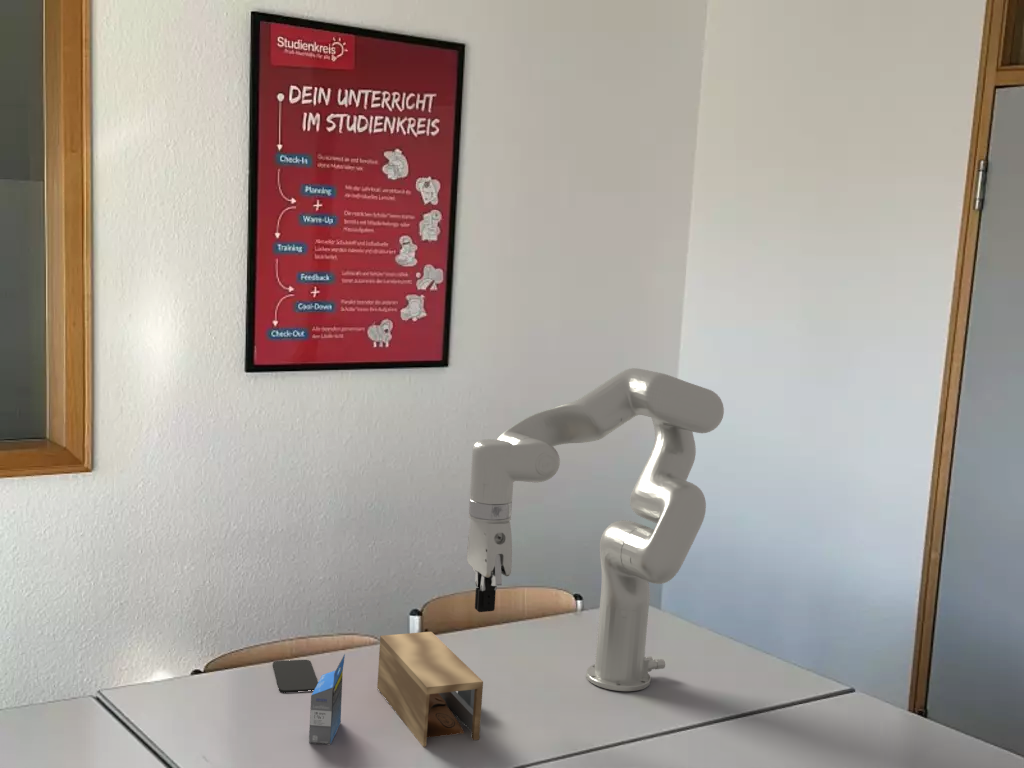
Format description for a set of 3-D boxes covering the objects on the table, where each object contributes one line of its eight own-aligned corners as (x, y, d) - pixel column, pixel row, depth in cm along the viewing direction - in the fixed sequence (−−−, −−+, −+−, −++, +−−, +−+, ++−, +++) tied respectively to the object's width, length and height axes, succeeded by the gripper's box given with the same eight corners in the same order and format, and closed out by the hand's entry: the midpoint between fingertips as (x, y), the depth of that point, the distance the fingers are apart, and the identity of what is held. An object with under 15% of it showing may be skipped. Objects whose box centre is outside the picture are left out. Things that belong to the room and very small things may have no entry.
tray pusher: (453, 685, 210) (455, 660, 209) (495, 729, 192) (497, 701, 191) (431, 687, 208) (432, 662, 207) (471, 732, 190) (473, 704, 189)
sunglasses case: (468, 733, 190) (451, 702, 188) (433, 757, 188) (416, 726, 186) (437, 692, 206) (422, 663, 204) (405, 713, 204) (388, 685, 203)
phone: (310, 659, 217) (320, 688, 203) (310, 663, 217) (320, 693, 203) (271, 660, 215) (279, 690, 201) (271, 665, 215) (279, 695, 201)
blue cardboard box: (318, 720, 191) (322, 651, 189) (341, 722, 191) (345, 653, 189) (307, 743, 182) (311, 670, 180) (331, 745, 182) (335, 672, 180)
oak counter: (427, 683, 210) (431, 631, 209) (479, 739, 188) (483, 681, 186) (377, 688, 206) (380, 635, 205) (423, 746, 183) (427, 687, 182)
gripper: (527, 519, 192) (521, 622, 194) (493, 499, 205) (487, 595, 207) (487, 521, 188) (481, 626, 191) (455, 501, 202) (449, 598, 204)
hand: (484, 610), depth 199 cm, fingers closed
